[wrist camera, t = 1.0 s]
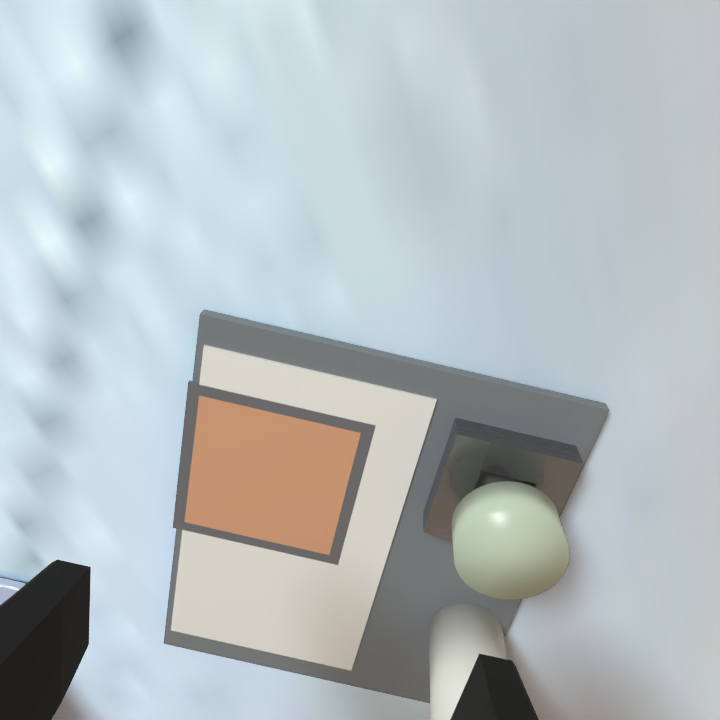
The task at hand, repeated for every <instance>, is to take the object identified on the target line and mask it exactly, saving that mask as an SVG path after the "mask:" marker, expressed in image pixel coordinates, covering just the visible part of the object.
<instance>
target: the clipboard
mask: <svg viewBox="0 0 720 720" xmlns="http://www.w3.org/2000/svg"><path fill="white" fill-rule="evenodd" d="M608 412H609V409H608V407H607V405H606V404H605V403H601V402H597V401H592V400H588V399H584V398H579V397H575V396H571V395H567V394H562V393H558V392H554V391H550V390H545V389H541V388H537V387H533V386H528V385H524V384H520V383H515V382H511V381H507V380H503V379H498V378H494V377H490V376H486V375H481V374H477V373H473V372H468V371H464V370H460V369H456V368H451V367H447V366H443V365H439V364H434V363H430V362H426V361H422V360H417V359H413V358H409V357H404V356H400V355H396V354H392V353H387V352H383V351H379V350H375V349H370V348H366V347H362V346H358V345H353V344H349V343H345V342H340V341H336V340H332V339H328V338H323V337H319V336H315V335H311V334H306V333H302V332H298V331H293V330H289V329H285V328H281V327H276V326H272V325H268V324H264V323H259V322H255V321H251V320H247V319H242V318H238V317H234V316H229V315H225V314H221V313H217V312H212V311H208V310H203V311H202V312H201V314H200V319H199V328H198V337H197V346H196V355H195V364H194V373H193V381H189V382H188V391H187V400H186V410H185V419H184V428H183V438H182V447H181V457H180V466H179V475H178V485H177V494H176V503H175V513H174V522H173V528H176V537H175V546H174V555H173V564H172V573H171V582H170V591H169V600H168V609H167V618H166V627H165V637H164V644H168V645H173V646H177V647H182V648H186V649H190V650H195V651H199V652H204V653H208V654H213V655H217V656H222V657H226V658H231V659H235V660H240V661H244V662H249V663H253V664H257V665H262V666H266V667H271V668H275V669H280V670H284V671H289V672H293V673H298V674H302V675H307V676H311V677H316V678H320V679H325V680H329V681H333V682H338V683H342V684H347V685H351V686H356V687H360V688H365V689H369V690H374V691H378V692H383V693H387V694H392V695H396V696H400V697H405V698H409V699H414V700H418V701H423V702H427V703H430V665H429V624H430V621H431V619H432V618H433V616H434V615H435V614H436V613H437V612H438V611H440V610H441V609H443V608H445V607H447V606H451V605H455V604H463V603H467V604H475V605H479V606H482V607H485V608H487V609H489V610H490V611H492V612H493V613H494V614H495V615H496V616H497V617H498V618H499V620H500V622H501V624H502V629H503V636H505V634H506V632H507V629H508V627H509V625H510V623H511V621H512V619H513V617H514V614H515V612H516V610H517V608H518V606H519V604H520V601H521V599H515V600H506V599H497V598H492V597H489V596H486V595H483V594H481V593H479V592H477V591H475V590H473V589H472V588H471V587H469V586H468V585H467V584H466V583H465V582H464V581H463V580H462V579H461V577H460V576H459V574H458V572H457V570H456V568H455V563H454V553H453V539H448V538H444V537H440V536H435V535H431V534H427V533H423V512H424V509H425V506H426V503H427V500H428V497H429V494H430V491H431V488H432V485H433V482H434V479H435V476H436V473H437V470H438V467H439V464H440V461H441V458H442V455H443V452H444V449H445V446H446V443H447V440H448V437H449V434H450V431H451V428H452V425H453V422H454V419H455V418H459V419H464V420H468V421H472V422H477V423H481V424H485V425H490V426H494V427H498V428H502V429H507V430H511V431H515V432H520V433H524V434H528V435H533V436H537V437H541V438H545V439H550V440H554V441H558V442H563V443H567V444H571V445H575V446H576V447H577V449H578V452H579V454H580V456H581V459H582V461H583V465H584V463H585V461H586V459H587V457H588V455H589V453H590V450H591V448H592V446H593V444H594V442H595V440H596V437H597V435H598V433H599V431H600V429H601V427H602V424H603V422H604V420H605V418H606V416H607V414H608ZM582 468H583V466H582ZM582 468H581V470H582ZM581 470H580V472H581ZM580 472H579V474H580ZM578 476H579V475H578ZM577 478H578V477H577ZM506 481H509V482H518V483H523V484H524V482H525V481H522V480H518V479H514V478H509V477H505V476H501V475H496V474H492V473H488V472H483V471H481V473H480V475H479V478H478V481H477V483H476V486H475V489H477V488H479V487H481V486H484V485H486V484H490V483H495V482H506ZM576 481H577V479H576ZM576 481H575V483H576ZM575 483H574V485H575ZM574 485H573V487H574ZM475 489H474V490H475ZM572 489H573V488H572ZM571 491H572V490H571ZM570 494H571V492H570ZM570 494H569V496H570ZM569 496H568V498H569ZM568 498H567V500H568ZM566 502H567V501H566ZM565 504H566V503H565ZM564 506H565V505H564ZM563 509H564V507H563ZM563 509H562V511H563ZM562 511H561V513H562ZM561 513H560V515H561ZM559 517H560V516H559Z"/></svg>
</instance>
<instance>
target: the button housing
mask: <svg viewBox="0 0 720 720" xmlns="http://www.w3.org/2000/svg"><path fill="white" fill-rule="evenodd" d="M582 466H583V461H582V459H581V456H580V454H579V452H578V449H577V447H576V446H575V445H571V444H567V443H563V442H558V441H554V440H550V439H545V438H541V437H537V436H533V435H528V434H524V433H520V432H515V431H511V430H507V429H502V428H498V427H494V426H490V425H485V424H481V423H477V422H472V421H468V420H464V419H459V418H455V419H454V422H453V425H452V428H451V431H450V434H449V437H448V440H447V443H446V446H445V449H444V452H443V455H442V458H441V461H440V464H439V467H438V470H437V473H436V476H435V479H434V482H433V485H432V488H431V491H430V494H429V497H428V500H427V503H426V506H425V509H424V512H423V533H427V534H431V535H435V536H440V537H444V538H448V539H452V525H451V523H452V516H453V513H454V511H455V508H456V507H457V505H458V504H459V502H460V501H461V500H462V499H463V498H464V497H465V496H466V495H467V494H469V493H470V492H472V491H473V490H474V489H475V486H476V483H477V481H478V478H479V475H480V473H481V471H483V472H488V473H492V474H496V475H501V476H505V477H509V478H514V479H518V480H522V481H525V482H524V484H527V485H530V486H532V487H535V488H536V489H538V490H540V491H541V492H543V493H544V494H545V495H547V496H548V497H549V498H550V499H551V501H552V502H553V504H554V505H555V507H556V509H557V512H558V515H559V516H560V513H561V511H562V509H563V507H564V505H565V503H566V501H567V498H568V496H569V494H570V492H571V490H572V488H573V485H574V483H575V481H576V479H577V477H578V475H579V472H580V470H581V468H582Z"/></svg>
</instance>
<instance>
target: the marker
mask: <svg viewBox="0 0 720 720" xmlns="http://www.w3.org/2000/svg"><path fill="white" fill-rule="evenodd" d="M479 654H484V655H488V656H493V657H497V658H502V659H506V660H507V655H506V649H505V642H504V636H503V629H502V624H501V622H500V620H499V618H498V617H497V616H496V615H495V614H494V613H493V612H492V611H490V610H489V609H487V608H485V607H482V606H479V605H475V604H467V603H463V604H455V605H451V606H447V607H445V608H443V609H441V610H440V611H438V612H437V613H436V614H435V615H434V616H433V618H432V619H431V621H430V624H429V665H430V714H431V720H450V719H451V717H452V715H453V713H454V710H455V708H456V706H457V703H458V701H459V699H460V697H461V694H462V692H463V690H464V687H465V685H466V683H467V681H468V678H469V676H470V674H471V671H472V669H473V667H474V665H475V662H476V660H477V658H478V655H479Z"/></svg>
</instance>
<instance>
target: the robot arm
mask: <svg viewBox="0 0 720 720" xmlns="http://www.w3.org/2000/svg"><path fill="white" fill-rule="evenodd" d="M89 606H90V567H88V566H83V565H79V564H74V563H70V562H65V561H61V560H56V561H54V562H52V563H51V564H50V565H48V566H47V567H46V568H45V569H44V570H42V571H41V572H40V573H39V574H38V575H36V576H35V577H34V578H33V579H32V580H30V581H29V582H28V583H27V584H25V583H22V582H18V581H13V580H9V579H5V578H0V720H51V719H52V717H53V716H54V714H55V712H56V710H57V709H58V707H59V705H60V704H61V702H62V700H63V698H64V696H65V694H66V691H67V689H68V687H69V685H70V683H71V681H72V679H73V677H74V675H75V673H76V670H77V668H78V666H79V664H80V662H81V660H82V657H83V655H84V653H85V651H86V649H87V647H88V644H89ZM450 720H539V719H538V717H537V715H536V713H535V710H534V708H533V706H532V704H531V701H530V699H529V697H528V694H527V692H526V690H525V687H524V685H523V683H522V680H521V678H520V676H519V673H518V671H517V669H516V666H515V665H514V663H513V662H512V661H511V660H506V659H502V658H497V657H493V656H488V655H484V654H479V655H478V658H477V660H476V662H475V665H474V667H473V669H472V671H471V674H470V676H469V678H468V681H467V683H466V685H465V687H464V690H463V692H462V694H461V697H460V699H459V701H458V703H457V706H456V708H455V710H454V713H453V715H452V717H451V719H450Z"/></svg>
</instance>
